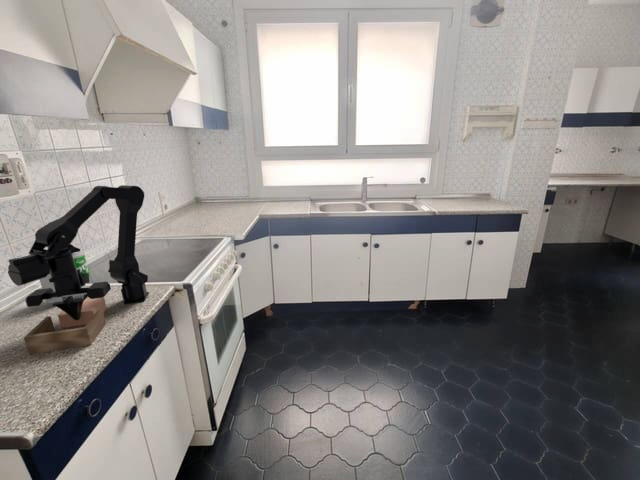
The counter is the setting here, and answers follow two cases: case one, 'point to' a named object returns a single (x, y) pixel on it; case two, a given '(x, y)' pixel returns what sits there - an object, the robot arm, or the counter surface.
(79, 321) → the terracotta block
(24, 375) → the counter surface
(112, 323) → the counter surface
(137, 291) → the robot arm
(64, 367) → the counter surface
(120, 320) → the counter surface
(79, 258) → the soda can
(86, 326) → the walnut stall
